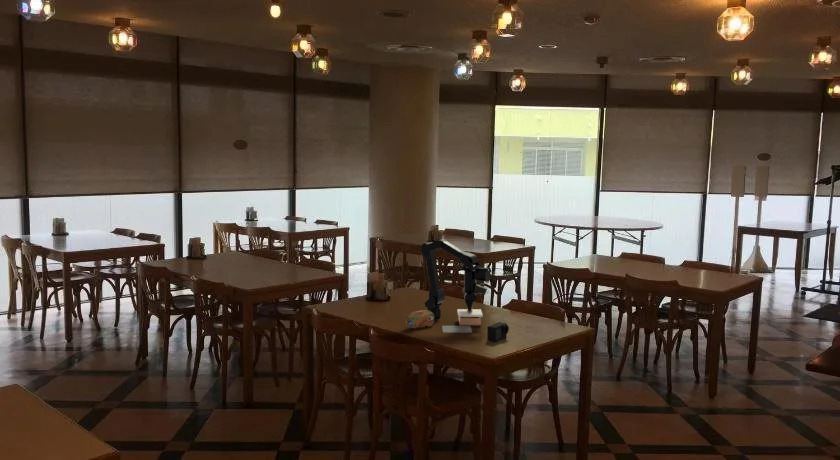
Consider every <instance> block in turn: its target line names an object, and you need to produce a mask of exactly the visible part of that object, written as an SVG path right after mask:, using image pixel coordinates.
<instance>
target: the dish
mask: <svg viewBox="0 0 840 460" xmlns="http://www.w3.org/2000/svg"><path fill="white" fill-rule="evenodd" d="M458 324H459V326H481V325H482V317H458Z"/></svg>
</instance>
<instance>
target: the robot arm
mask: <svg viewBox="0 0 840 460" xmlns="http://www.w3.org/2000/svg"><path fill="white" fill-rule="evenodd" d="M439 249H442V250H443V251H445V252H447V253H448V254H450V255H451V256H453V257H455V258H456V259H458V261H459V262H460V264H462V265H463V266H462V267H461V268H460V271H464V272H463V273H464V274H463V275H464V277H463V279H464V280H463V288H462V294H463V298H464V302H465V304H466V306H467V307H468V310H469V311H471V309H473V305H474V304H473V303H474V301H478V294H477V293H479V294H481V295H484V296H485V295H486V293H487V290H488V288H487V287H486V286H485V284H484V283H489V282H490V280H491V277H492V276H491V271H490V269H489V267H482V265H481V263H480V261H479V260H478V256H477V255H476V254H473V253H471V252H468V251H464V250H462V249H461V248H459V247H457V246H456V245H454V244H452V243H451V242H449V241H447V240H446V239H445V238H444V239H443V238H441V239H438V240H436V241H430V242H425V243H422V244H421V245H420V252H421V256H422V257H423V259H424V260H425V264H426V269H427V274H428V275H427V276H428V282H429V290H428V291H429V292H428V299H427V300H426V301H425V302H424V307H425V308H427V310H428V311H431V312H432V313H433V314H434V317H435V319H434V320H436V319H437V320H440V319H441V316H442V313H441V310H442V309H441V308H440V306H442V305H443V303H444V301H445V299H446V294H445V289H444V288H442V287H441V286H440V281H439V274H438V269H437V263H436V257H437V254H438V253H437V251H438V250H439ZM477 282H482V283H480V284H478V283H477ZM483 282H484V283H483ZM467 307H466V308H467Z"/></svg>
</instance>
